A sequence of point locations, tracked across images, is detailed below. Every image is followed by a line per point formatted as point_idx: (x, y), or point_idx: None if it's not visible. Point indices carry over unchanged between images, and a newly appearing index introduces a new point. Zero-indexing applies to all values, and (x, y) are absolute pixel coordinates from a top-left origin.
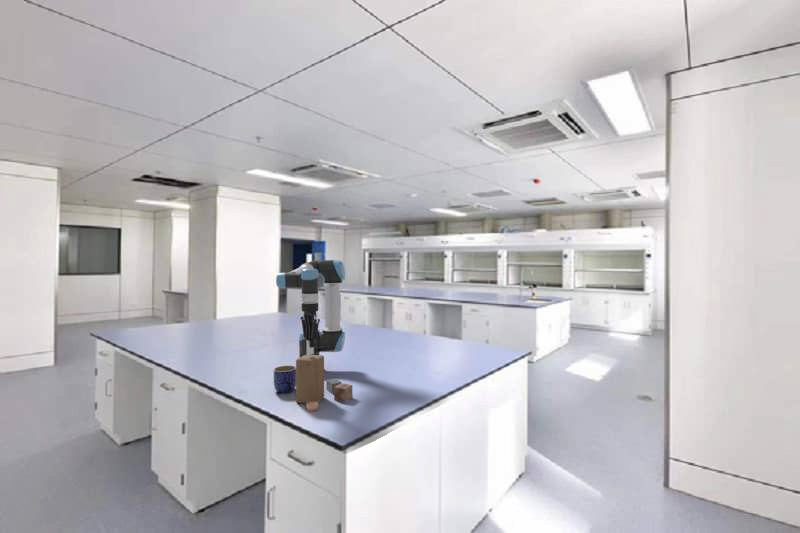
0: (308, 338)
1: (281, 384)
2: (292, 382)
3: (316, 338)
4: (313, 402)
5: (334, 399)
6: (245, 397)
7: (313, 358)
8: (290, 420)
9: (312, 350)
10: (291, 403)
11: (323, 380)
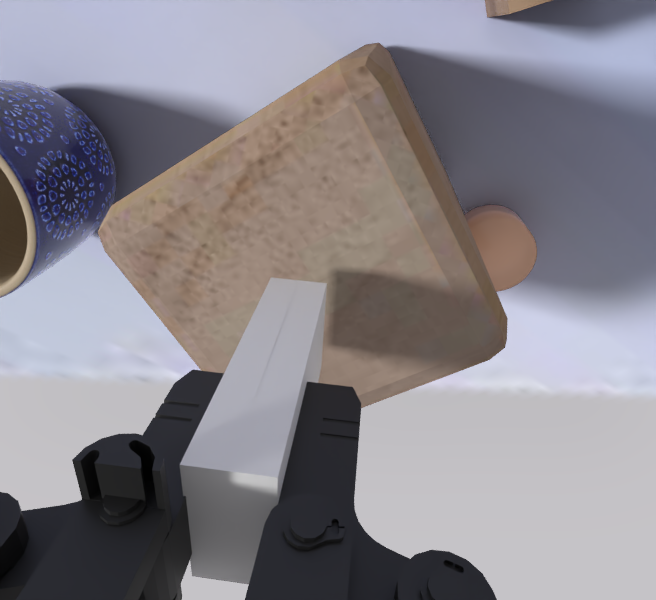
0: (177, 579)
1: (82, 242)
2: (92, 168)
3: (479, 579)
4: (494, 248)
5: (489, 16)
6: (45, 357)
7: (409, 317)
8: (497, 386)
9: (316, 334)
10: None
11: (396, 72)
